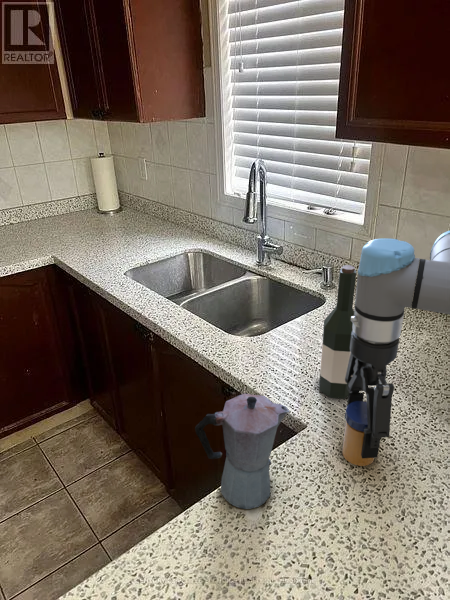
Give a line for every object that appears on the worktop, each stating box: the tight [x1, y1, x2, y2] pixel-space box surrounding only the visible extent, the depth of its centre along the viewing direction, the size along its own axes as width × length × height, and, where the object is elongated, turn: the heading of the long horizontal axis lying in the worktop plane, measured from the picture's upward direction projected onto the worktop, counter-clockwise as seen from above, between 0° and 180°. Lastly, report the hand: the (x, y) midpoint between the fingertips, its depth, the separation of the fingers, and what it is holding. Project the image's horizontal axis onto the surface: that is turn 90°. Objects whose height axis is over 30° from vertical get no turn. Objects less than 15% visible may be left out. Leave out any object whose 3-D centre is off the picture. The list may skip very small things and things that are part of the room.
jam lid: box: [344, 400, 368, 432], centre depth 81 cm, size 6×6×2 cm
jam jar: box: [341, 421, 376, 467], centre depth 83 cm, size 6×6×9 cm
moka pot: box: [194, 393, 291, 510], centre depth 74 cm, size 10×15×20 cm, turn 107°
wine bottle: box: [318, 264, 357, 400], centre depth 96 cm, size 8×8×30 cm
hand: (360, 437), depth 83 cm, fingers open, 8 cm apart
